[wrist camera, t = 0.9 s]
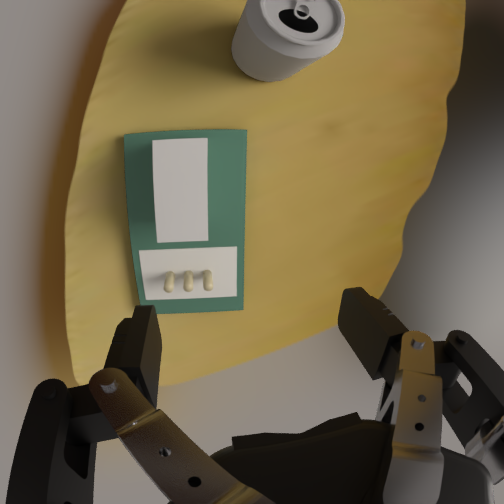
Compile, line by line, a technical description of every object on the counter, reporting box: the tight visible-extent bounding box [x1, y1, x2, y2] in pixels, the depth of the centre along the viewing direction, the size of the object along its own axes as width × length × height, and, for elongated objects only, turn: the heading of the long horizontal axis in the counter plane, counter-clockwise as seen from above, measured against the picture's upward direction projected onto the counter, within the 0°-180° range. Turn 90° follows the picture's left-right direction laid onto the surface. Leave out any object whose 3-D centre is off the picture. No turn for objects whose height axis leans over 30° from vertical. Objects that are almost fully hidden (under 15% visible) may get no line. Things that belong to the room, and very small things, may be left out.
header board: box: [124, 129, 247, 314], centre depth 28 cm, size 20×12×4 cm, turn 179°
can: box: [231, 0, 345, 82], centre depth 19 cm, size 8×8×12 cm
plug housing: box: [152, 138, 208, 243], centre depth 24 cm, size 8×4×6 cm, turn 179°
